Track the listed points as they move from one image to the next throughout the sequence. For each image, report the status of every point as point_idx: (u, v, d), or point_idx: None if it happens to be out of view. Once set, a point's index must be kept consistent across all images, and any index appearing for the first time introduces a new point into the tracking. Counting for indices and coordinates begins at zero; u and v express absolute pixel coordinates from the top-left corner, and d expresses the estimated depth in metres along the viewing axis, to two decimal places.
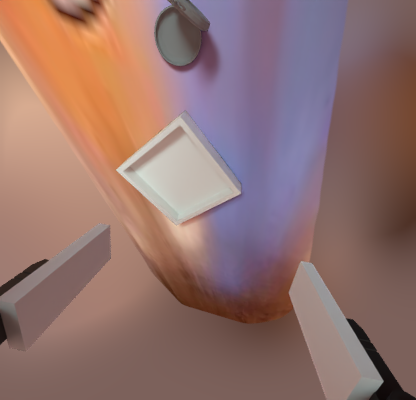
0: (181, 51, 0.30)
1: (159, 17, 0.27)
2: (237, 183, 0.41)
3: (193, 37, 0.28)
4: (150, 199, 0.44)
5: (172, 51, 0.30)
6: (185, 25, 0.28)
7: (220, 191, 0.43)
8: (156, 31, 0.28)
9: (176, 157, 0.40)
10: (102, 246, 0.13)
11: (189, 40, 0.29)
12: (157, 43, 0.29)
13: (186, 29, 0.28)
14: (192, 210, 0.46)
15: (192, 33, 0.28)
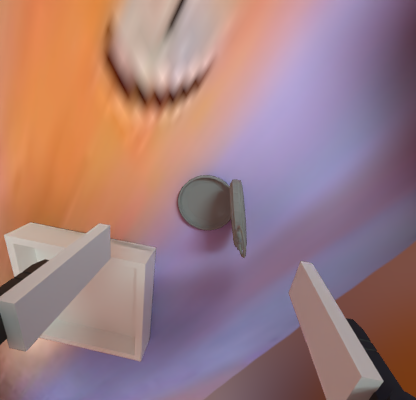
0: (199, 210, 0.24)
1: (205, 177, 0.22)
2: (146, 342, 0.32)
3: (219, 214, 0.24)
4: None
5: (191, 203, 0.24)
6: (221, 201, 0.24)
7: (121, 333, 0.32)
8: (191, 180, 0.23)
9: (103, 274, 0.29)
10: (102, 246, 0.13)
11: (213, 212, 0.24)
12: (183, 188, 0.23)
13: (219, 204, 0.24)
14: (68, 331, 0.32)
15: (221, 210, 0.24)
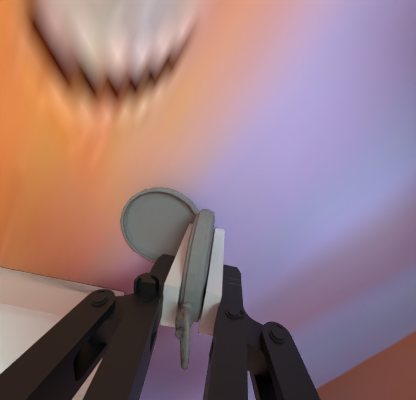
0: (151, 233, 0.17)
1: (167, 191, 0.15)
2: None
3: (177, 244, 0.17)
4: None
5: (141, 222, 0.17)
6: (183, 228, 0.17)
7: None
8: (146, 192, 0.15)
9: None
10: None
11: (170, 240, 0.17)
12: (132, 199, 0.16)
13: (180, 231, 0.17)
14: None
15: (181, 239, 0.17)
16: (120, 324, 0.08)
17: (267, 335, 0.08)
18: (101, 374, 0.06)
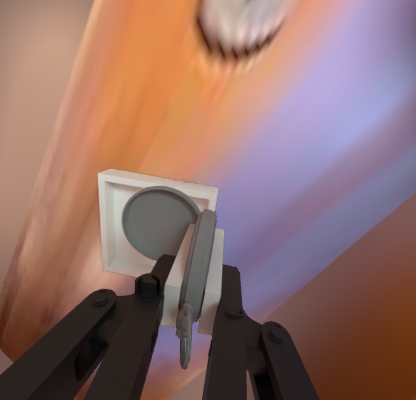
0: (151, 231, 0.17)
1: None
2: None
3: (177, 243, 0.17)
4: (103, 227, 0.33)
5: (141, 219, 0.17)
6: (184, 227, 0.17)
7: None
8: (148, 189, 0.15)
9: None
10: None
11: (170, 239, 0.17)
12: (134, 196, 0.16)
13: (180, 230, 0.17)
14: (136, 267, 0.37)
15: (181, 238, 0.17)
16: (120, 324, 0.08)
17: (266, 335, 0.08)
18: (102, 374, 0.06)
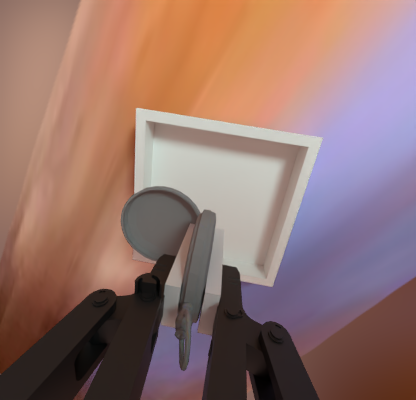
0: (151, 231, 0.17)
1: None
2: None
3: (177, 243, 0.17)
4: None
5: (141, 219, 0.17)
6: (184, 227, 0.17)
7: (238, 259, 0.27)
8: (147, 190, 0.15)
9: (236, 175, 0.23)
10: None
11: (170, 239, 0.17)
12: (134, 197, 0.15)
13: (180, 230, 0.17)
14: None
15: (180, 239, 0.17)
16: (120, 324, 0.08)
17: (266, 335, 0.08)
18: (102, 374, 0.06)
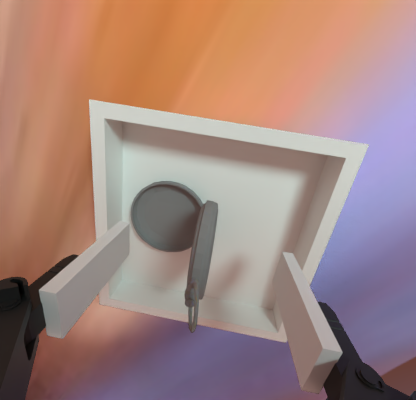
0: (158, 223, 0.19)
1: None
2: None
3: (182, 234, 0.19)
4: (100, 224, 0.16)
5: (149, 212, 0.18)
6: (188, 219, 0.18)
7: (240, 301, 0.21)
8: (155, 184, 0.17)
9: (237, 195, 0.17)
10: (123, 243, 0.14)
11: (176, 230, 0.19)
12: (142, 191, 0.17)
13: (185, 222, 0.18)
14: (161, 299, 0.20)
15: (185, 230, 0.19)
16: None
17: None
18: None
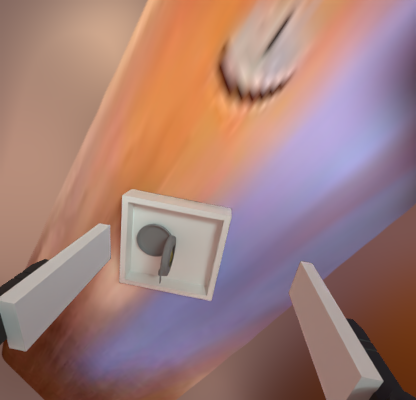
0: (149, 242, 0.38)
1: (157, 226, 0.36)
2: None
3: (161, 248, 0.38)
4: (122, 243, 0.36)
5: (145, 237, 0.38)
6: (164, 241, 0.38)
7: (191, 282, 0.41)
8: (148, 225, 0.36)
9: (186, 230, 0.37)
10: (102, 246, 0.13)
11: (158, 246, 0.38)
12: (142, 228, 0.36)
13: (162, 242, 0.38)
14: (150, 280, 0.39)
15: (163, 245, 0.38)
16: None
17: None
18: None
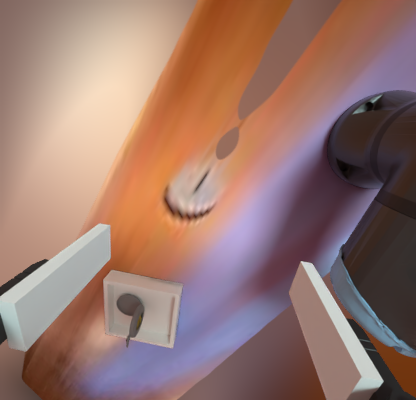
0: (126, 305, 0.52)
1: (130, 296, 0.49)
2: (175, 337, 0.53)
3: (135, 309, 0.52)
4: (106, 309, 0.50)
5: (123, 302, 0.51)
6: (136, 305, 0.51)
7: (159, 332, 0.54)
8: (124, 296, 0.50)
9: (152, 298, 0.50)
10: (102, 246, 0.13)
11: (133, 308, 0.52)
12: (120, 297, 0.50)
13: (135, 305, 0.51)
14: (128, 331, 0.53)
15: (136, 308, 0.52)
16: None
17: None
18: None
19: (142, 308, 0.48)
